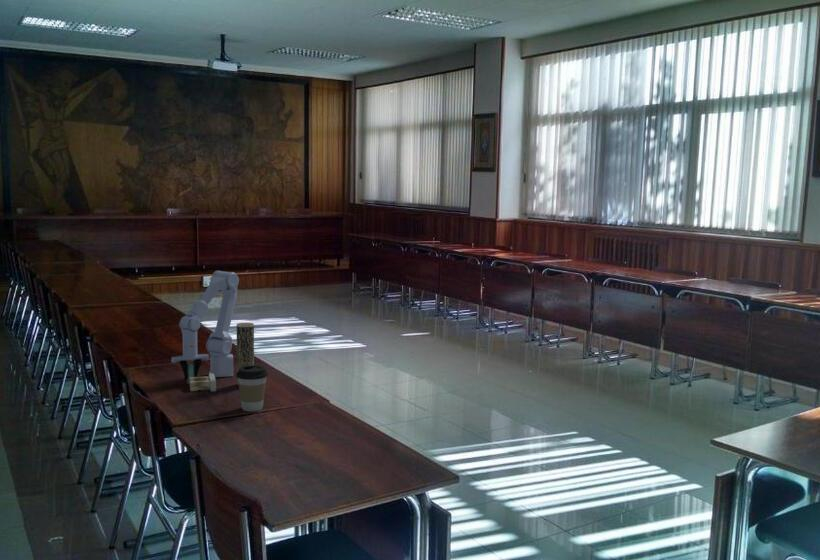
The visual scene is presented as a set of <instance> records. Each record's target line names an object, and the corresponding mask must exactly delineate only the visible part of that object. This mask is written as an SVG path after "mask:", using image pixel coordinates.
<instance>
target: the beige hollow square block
mask: <svg viewBox="0 0 820 560" xmlns="http://www.w3.org/2000/svg"><path fill="white" fill-rule="evenodd" d="M198 390H201V391H211V390H210V378H209V375H208V376H197V377H190V384H189V391H190V392H196V391H197V392H199V391H198Z"/></svg>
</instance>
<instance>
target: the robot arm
mask: <svg viewBox="0 0 820 560" xmlns="http://www.w3.org/2000/svg"><path fill="white" fill-rule="evenodd" d="M209 280H210V283H209V285H208V286H207V287H206V290H205V291H204V292H203V295H202V296H201V298H200V299H199V300H196V301H195V302H193V304H192V307H190V310H189V311H188V312H187V314H186V315H184V316H182V317H181V319H180V321H179V322H178V325H179V328H180V330H181V331H180V332H181V334H182V355H178V356H177V355H176V356H172V357H171V361H170V362H171V363H173V364H176V363H179V365H180V367H181V369H182V371H183V375H184V379H185V380H187V379H188V375H187V366H188V364H187V363H188V362H192V363H194V373H195V377H198V373H199V370H200V367H201V366H202V362H203V360H204V361H205V360H206V361H209V360H210V363H209V364H210V371H209V372H208V375H209V374H212V373H214V376H215V378H223V377H226V378H227V377H234V371H235V370H234V355H233V354H232V353H231V352H232V350H233V349H232V348H233V344H232V341H233V337H232V336H231V335H230V333H229V331H230V328H231V324H232V323H231V322H232V318H233V313H234V310H235V304H236V302H237V296H238V286H239V283H240V282H239V281H240V278H239V276H238V274H237V273H236V272H234V271H222V270H215V271H214V272H213V274H212V275H211V277H210V279H209ZM219 291H220V292H221V293H222V295H223V296H222V300H221V304H220V308H219V313H218V318H217V322H216V327H215V330H214V331H212V332H211V333H210V335H209V337H208V339H207V341H206V345H205V348H206V350H207V352H208V353H204V354H202V353H199V350H198V330H199V329H200V327H201V325H202V323H201V322H202V319H203V317H204V316H205V314H206V312H208V310H209V304H210V302H211V301H212V299H213V298H214V297H215V295H216V294H217V293H219Z"/></svg>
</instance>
